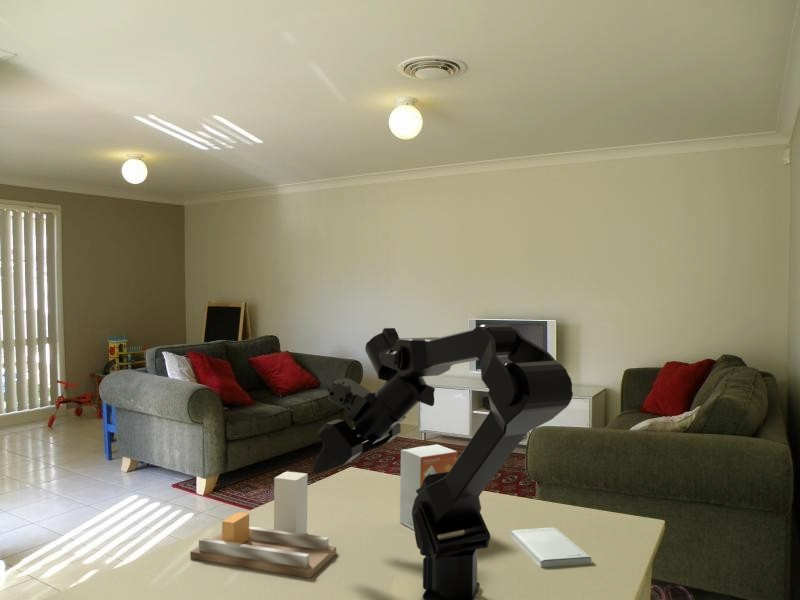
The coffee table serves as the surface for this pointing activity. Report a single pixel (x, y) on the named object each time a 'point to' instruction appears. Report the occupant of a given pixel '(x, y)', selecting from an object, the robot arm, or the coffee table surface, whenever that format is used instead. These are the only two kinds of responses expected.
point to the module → (290, 502)
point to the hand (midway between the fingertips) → (329, 464)
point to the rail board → (269, 551)
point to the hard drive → (549, 547)
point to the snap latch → (236, 528)
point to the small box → (420, 473)
